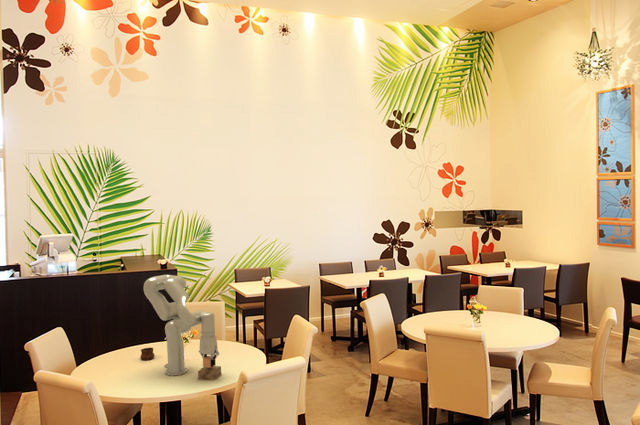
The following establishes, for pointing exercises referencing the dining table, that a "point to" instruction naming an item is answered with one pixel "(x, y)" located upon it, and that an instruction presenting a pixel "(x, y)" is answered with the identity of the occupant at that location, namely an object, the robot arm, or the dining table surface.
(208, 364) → the terracotta cube
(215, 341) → the robot arm
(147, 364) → the dining table surface
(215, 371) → the block
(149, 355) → the brown pouch
